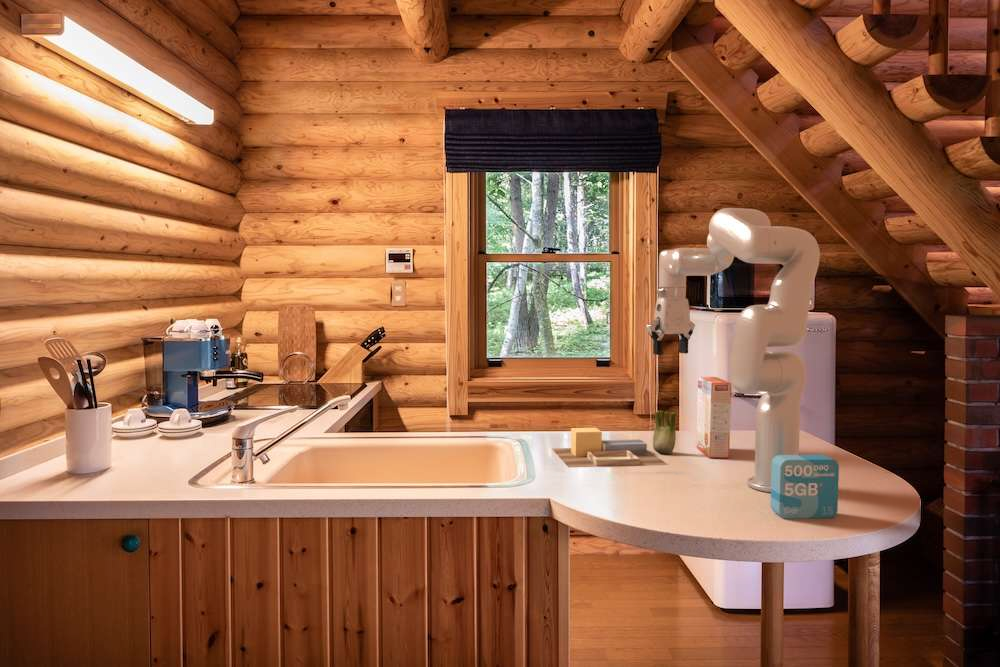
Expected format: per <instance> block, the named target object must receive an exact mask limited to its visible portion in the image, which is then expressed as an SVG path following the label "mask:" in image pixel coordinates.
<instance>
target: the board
mask: <svg viewBox="0 0 1000 667" xmlns="http://www.w3.org/2000/svg"><path fill="white" fill-rule="evenodd" d="M647 448H648V443H646V442H644V441H643V440H642V439H602V448H601V451H587V456H575V455H574V454H573V453H572V452H571V447H557V448H556V447H555V448H551V449H552V451H553V452H554V454H556V455H557V456H558V457H559V459H560V460H561V461H562V462H563V463H564V465H565V466H567V468H595V467H597V468H599V467H600V468H601V467H605V468H606V467H634V466H635V467H638V466H644V467H645V466H669V464H668V463H667V462H665V461H664V460H662V459H661V458H660V457H658V456H656V455H655V454H653V453H652V452H650V451H649V450H648V449H647Z"/></svg>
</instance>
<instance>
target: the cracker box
mask: <svg viewBox="0 0 1000 667" xmlns="http://www.w3.org/2000/svg"><path fill="white" fill-rule="evenodd" d="M697 381H698V382H697V418H696V419H697V420H696V422H697V423H696V448H697V449H698V450H699V451H701V452H702V453H703V455H705V456H707V457H708V458H710V459H729V458H730V444H731V443H730V442H731V440H730V439H731V412H732V410H731V409H732V387H733V385H732V383H731V381H727V380H725V379H722V378H720V377H717V376H698V380H697Z"/></svg>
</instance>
